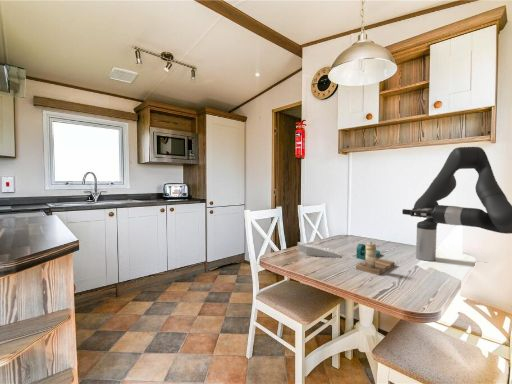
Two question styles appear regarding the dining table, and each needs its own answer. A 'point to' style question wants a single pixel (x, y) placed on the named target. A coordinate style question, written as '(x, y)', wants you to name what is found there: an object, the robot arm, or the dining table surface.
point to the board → (376, 266)
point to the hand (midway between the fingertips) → (407, 211)
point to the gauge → (370, 255)
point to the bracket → (363, 252)
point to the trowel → (316, 250)
